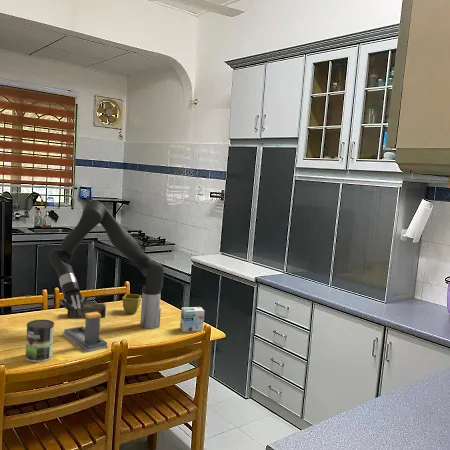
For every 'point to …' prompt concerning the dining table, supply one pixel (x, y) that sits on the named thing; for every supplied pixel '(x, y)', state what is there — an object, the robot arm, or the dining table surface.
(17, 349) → the dining table surface
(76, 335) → the fader console
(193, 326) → the light bulb box
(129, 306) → the flower pot
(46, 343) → the coffee can
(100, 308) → the beverage carton
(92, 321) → the fader tab
